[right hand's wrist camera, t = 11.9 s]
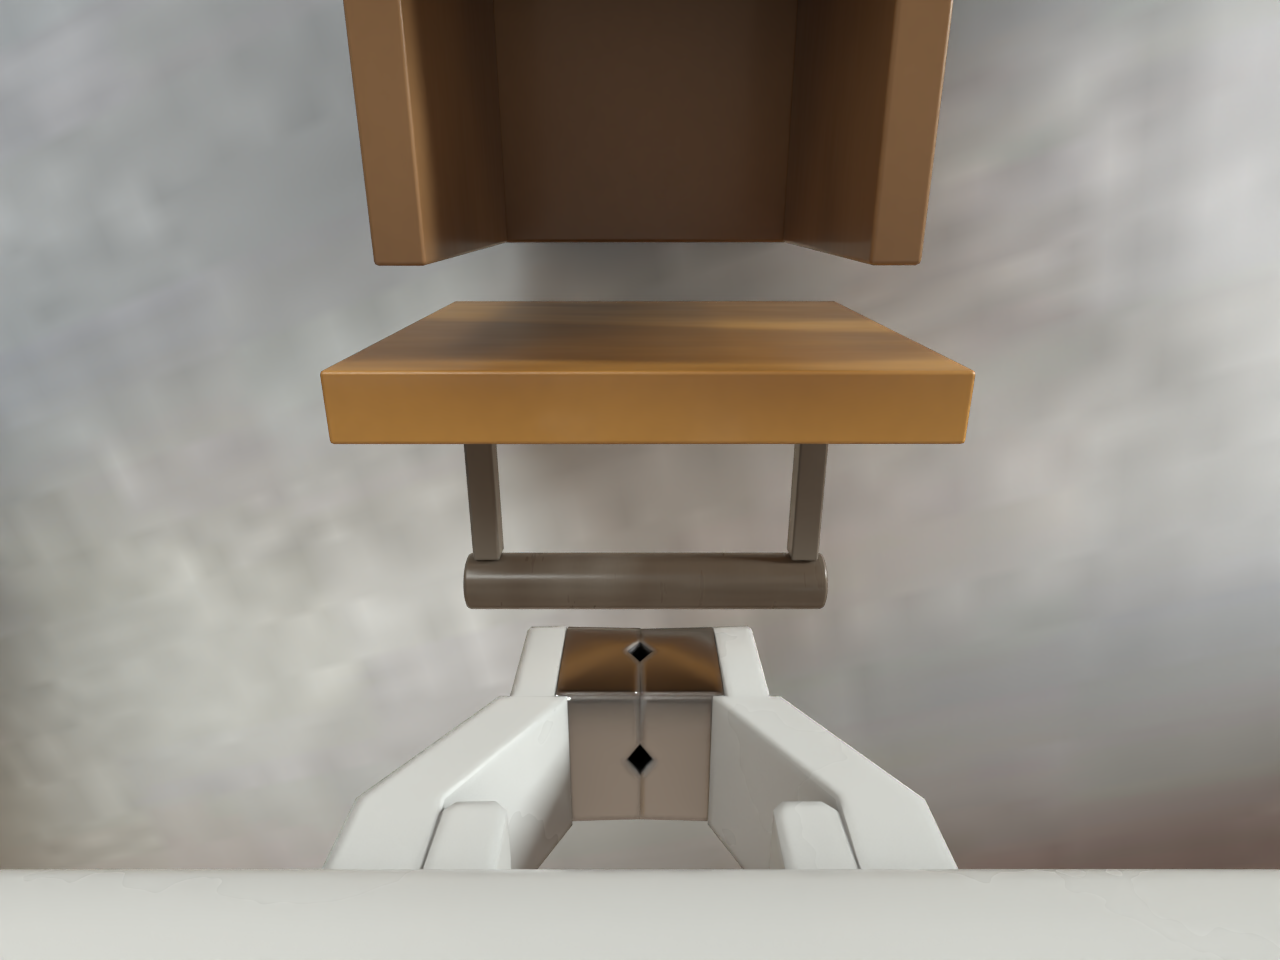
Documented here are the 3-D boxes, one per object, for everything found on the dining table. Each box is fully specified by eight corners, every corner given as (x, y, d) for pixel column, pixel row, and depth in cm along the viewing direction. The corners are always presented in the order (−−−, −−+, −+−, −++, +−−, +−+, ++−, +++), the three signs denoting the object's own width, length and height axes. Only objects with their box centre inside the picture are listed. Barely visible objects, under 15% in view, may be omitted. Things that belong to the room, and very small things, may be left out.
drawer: (816, 519, 22) (923, 712, 14) (472, 519, 22) (369, 712, 14) (907, -523, 15) (1273, -1516, 6) (384, -521, 15) (33, -1513, 6)
